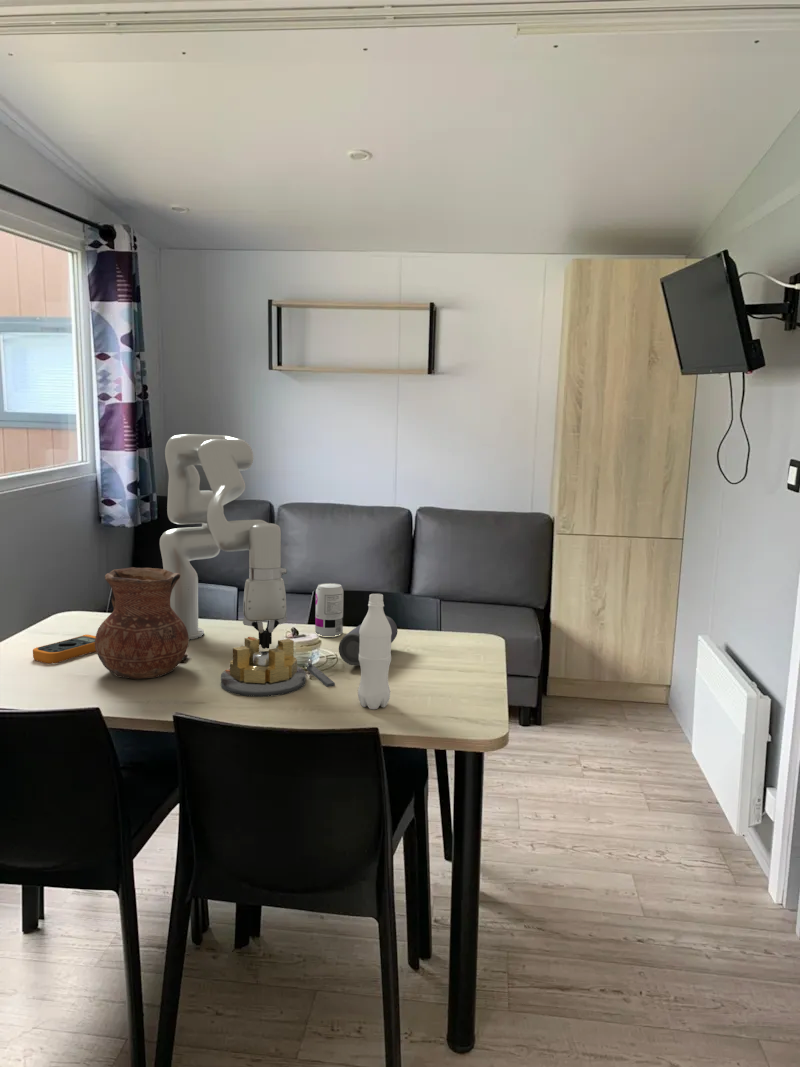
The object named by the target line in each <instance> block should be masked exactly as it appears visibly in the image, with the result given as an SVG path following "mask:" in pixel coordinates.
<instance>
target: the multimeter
mask: <svg viewBox="0 0 800 1067" xmlns="http://www.w3.org/2000/svg"><path fill="white" fill-rule="evenodd" d="M95 638H96V635H91V634H83V635H80V636H76V637H73V638H68V639H65V640H61V641H57V642H54V643H49V644H45V645H40V646H36V647H33V649H32V659H33V660H34V661H36V662H40V663H44V664H49V665H50V664H51V665H52V664H58V663H61V662H64V661H68V660H72V659H75V658H78V657H81V656H82V657H83V656H85V655H87V654H92V653H95V652H96V649H95ZM96 653H97V652H96Z"/></svg>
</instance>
